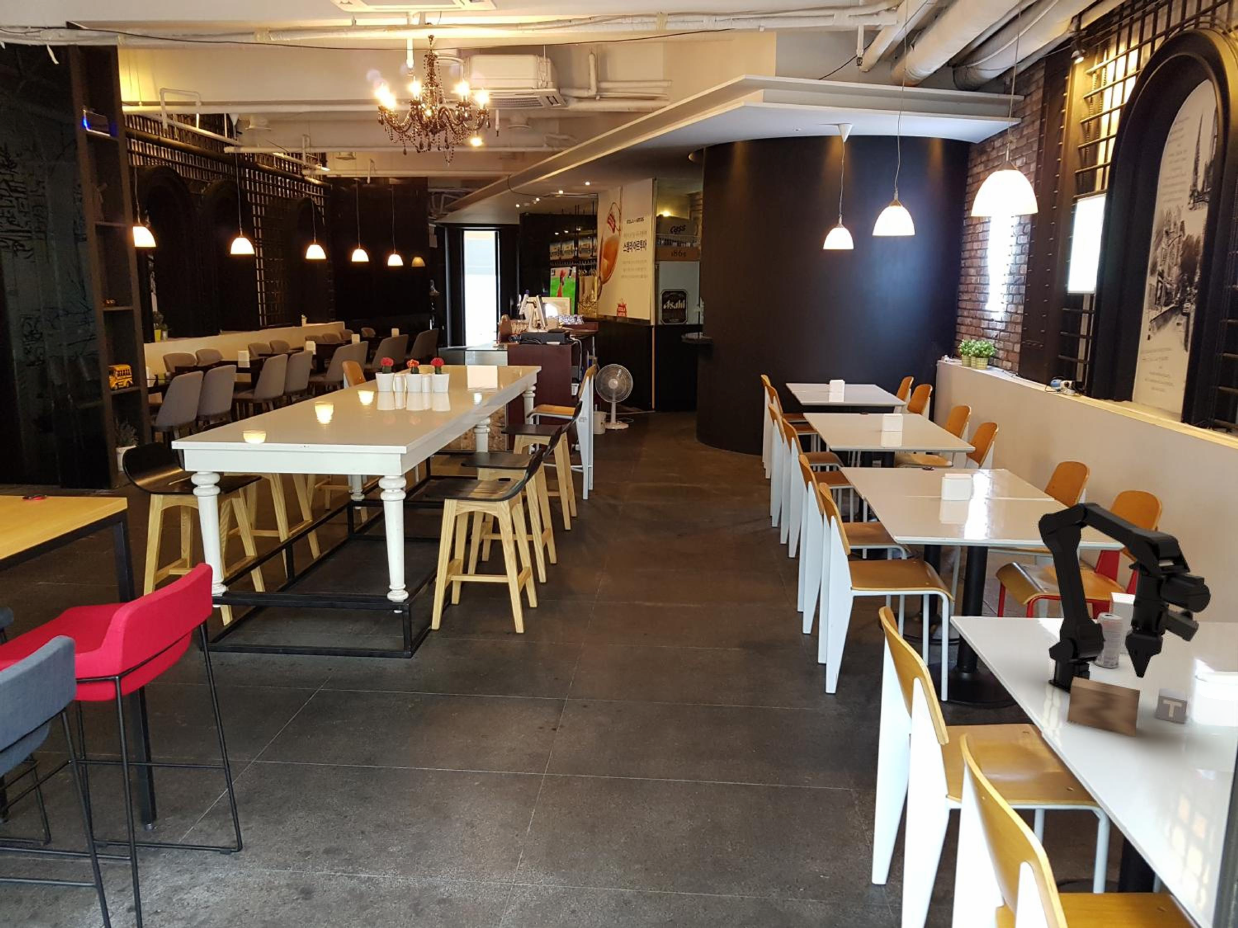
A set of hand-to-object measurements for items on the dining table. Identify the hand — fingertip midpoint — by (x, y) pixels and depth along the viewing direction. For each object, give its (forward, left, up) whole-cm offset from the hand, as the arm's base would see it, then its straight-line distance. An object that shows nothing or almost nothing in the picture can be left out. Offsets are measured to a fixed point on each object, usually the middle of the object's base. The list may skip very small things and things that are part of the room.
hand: (1142, 669), depth 184 cm
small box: (-29, +34, -11) cm, 46 cm away
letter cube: (+1, +9, -11) cm, 14 cm away
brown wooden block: (-1, -8, -11) cm, 14 cm away
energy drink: (-23, +21, -11) cm, 33 cm away
